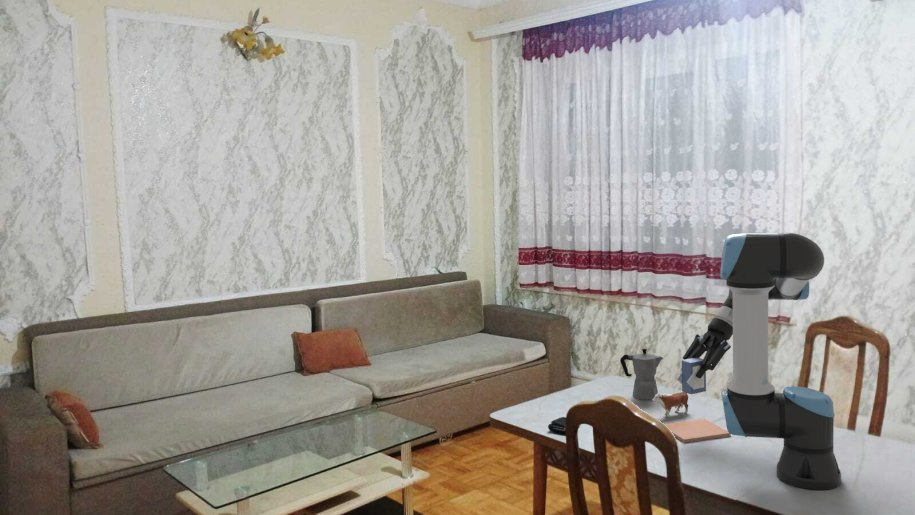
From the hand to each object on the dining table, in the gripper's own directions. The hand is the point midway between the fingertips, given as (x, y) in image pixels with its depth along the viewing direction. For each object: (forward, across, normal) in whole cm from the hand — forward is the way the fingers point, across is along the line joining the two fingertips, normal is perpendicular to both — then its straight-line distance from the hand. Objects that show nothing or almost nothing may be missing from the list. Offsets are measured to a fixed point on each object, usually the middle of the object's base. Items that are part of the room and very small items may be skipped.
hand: (684, 383), depth 216 cm
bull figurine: (+6, +16, -18) cm, 24 cm away
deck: (0, 0, -5) cm, 5 cm away
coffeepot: (+3, +38, -21) cm, 43 cm away
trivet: (+9, 0, -14) cm, 17 cm away
